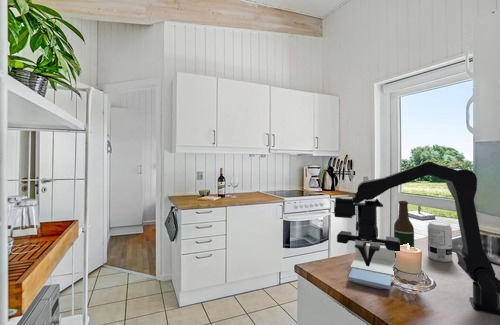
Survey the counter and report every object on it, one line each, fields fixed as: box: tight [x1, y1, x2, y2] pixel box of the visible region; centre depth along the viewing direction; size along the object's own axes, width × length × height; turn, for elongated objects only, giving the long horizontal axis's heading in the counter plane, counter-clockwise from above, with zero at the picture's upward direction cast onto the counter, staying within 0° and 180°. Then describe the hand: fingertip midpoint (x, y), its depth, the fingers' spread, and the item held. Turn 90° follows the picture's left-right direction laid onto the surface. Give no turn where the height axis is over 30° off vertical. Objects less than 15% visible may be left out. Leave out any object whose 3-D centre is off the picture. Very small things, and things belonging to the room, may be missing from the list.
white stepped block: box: [350, 243, 396, 278], centre depth 95 cm, size 14×14×8 cm
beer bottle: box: [393, 200, 415, 248], centre depth 111 cm, size 8×8×24 cm
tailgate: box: [348, 268, 392, 290], centre depth 86 cm, size 2×13×8 cm
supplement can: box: [427, 221, 453, 263], centre depth 106 cm, size 8×8×15 cm
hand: (367, 266), depth 83 cm, fingers closed
